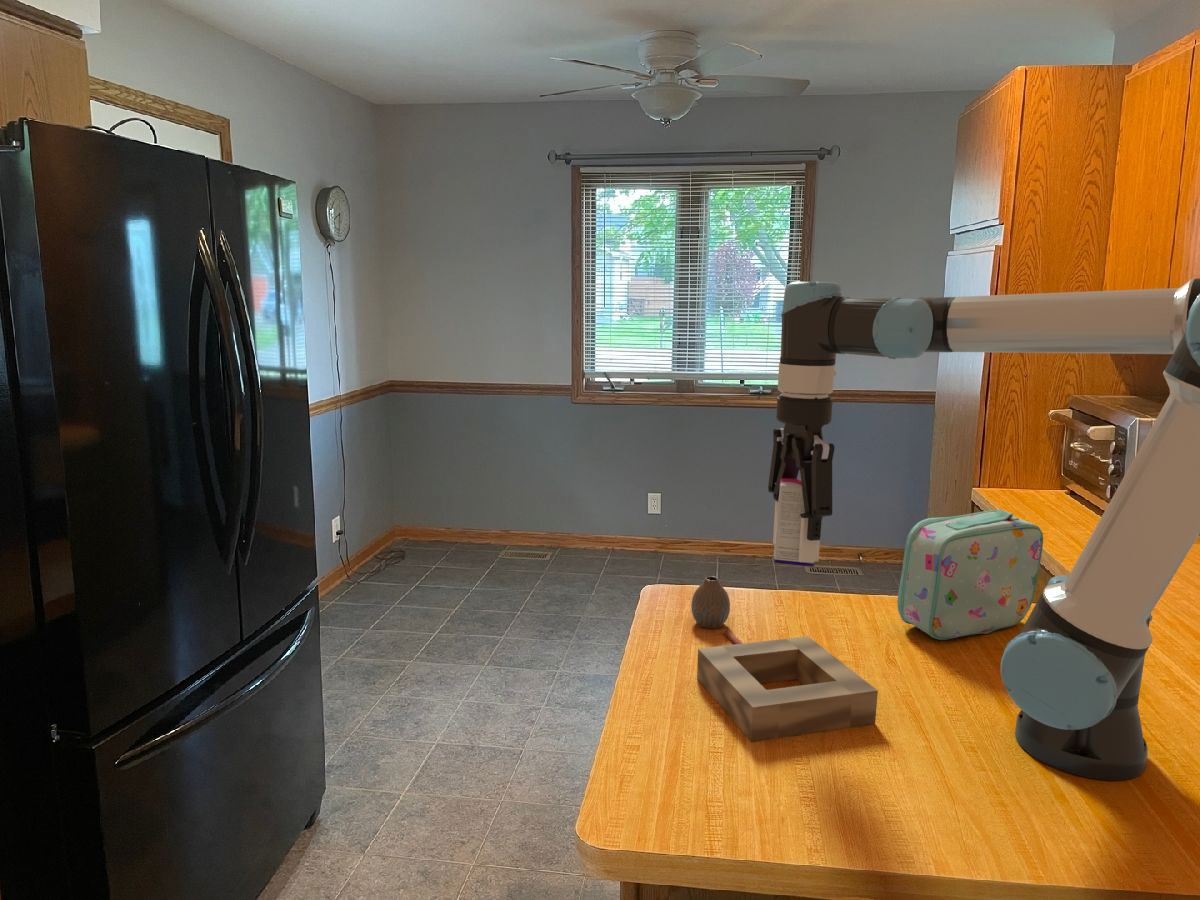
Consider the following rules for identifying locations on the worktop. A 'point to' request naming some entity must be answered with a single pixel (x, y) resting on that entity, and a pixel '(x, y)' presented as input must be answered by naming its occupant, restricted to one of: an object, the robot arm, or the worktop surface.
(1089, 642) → the robot arm
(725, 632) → the reddish-brown thin rod
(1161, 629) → the worktop surface
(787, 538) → the supplement box
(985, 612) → the lunch box
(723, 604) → the vase
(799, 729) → the brown wooden square frame
